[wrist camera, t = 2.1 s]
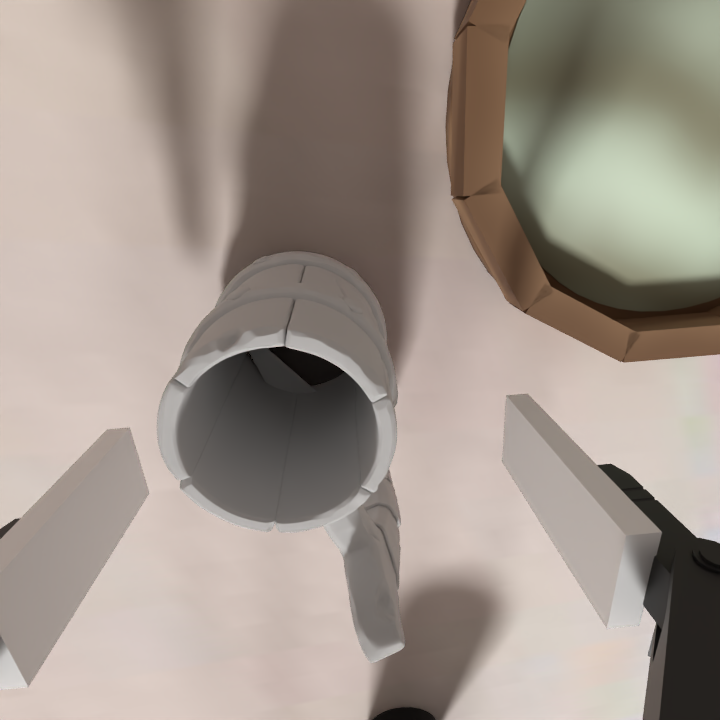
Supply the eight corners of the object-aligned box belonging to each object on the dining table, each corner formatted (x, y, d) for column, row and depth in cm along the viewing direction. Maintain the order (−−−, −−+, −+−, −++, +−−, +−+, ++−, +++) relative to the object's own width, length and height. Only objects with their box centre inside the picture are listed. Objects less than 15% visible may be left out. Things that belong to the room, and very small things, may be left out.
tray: (448, -223, 14) (475, -319, 11) (1036, -248, 14) (1190, -344, 12) (443, 353, 21) (458, 376, 19) (828, 321, 22) (895, 339, 19)
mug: (335, 214, 19) (340, 254, 7) (439, 422, 23) (541, 645, 12) (187, 294, 19) (-6, 436, 8) (313, 480, 24) (297, 737, 13)
